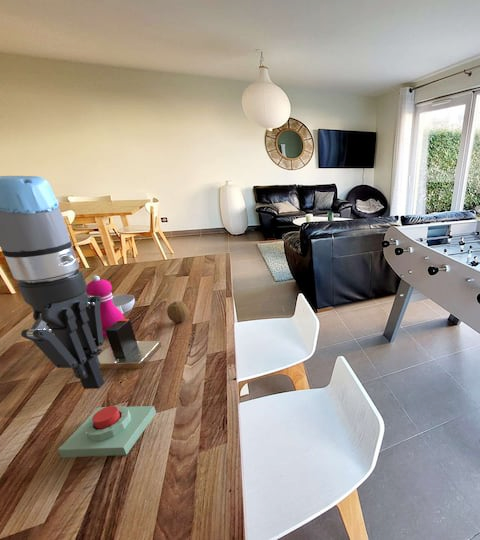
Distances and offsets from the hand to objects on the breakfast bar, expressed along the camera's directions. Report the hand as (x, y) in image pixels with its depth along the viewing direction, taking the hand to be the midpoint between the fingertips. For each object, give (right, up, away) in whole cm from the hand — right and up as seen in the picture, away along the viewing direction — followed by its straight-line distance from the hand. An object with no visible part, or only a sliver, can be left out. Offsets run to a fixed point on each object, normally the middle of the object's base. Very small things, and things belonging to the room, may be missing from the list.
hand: (94, 385), depth 56 cm
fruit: (-12, +4, +45) cm, 47 cm away
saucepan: (-36, +7, +49) cm, 61 cm away
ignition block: (-1, -12, +5) cm, 13 cm away
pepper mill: (-29, +2, +38) cm, 48 cm away
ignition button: (-1, -9, +4) cm, 10 cm away
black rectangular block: (-15, -1, +26) cm, 30 cm away
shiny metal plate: (-15, -3, +27) cm, 31 cm away
